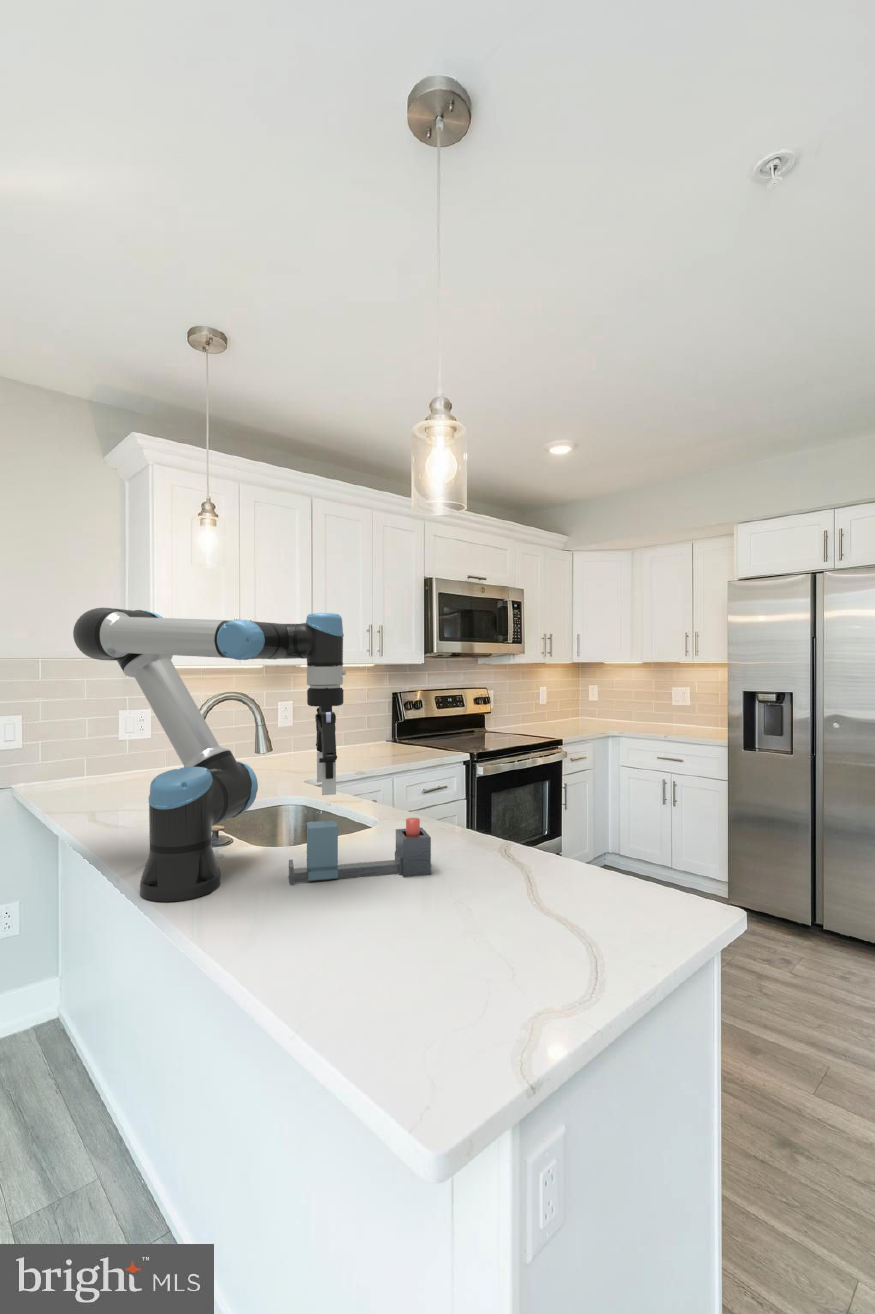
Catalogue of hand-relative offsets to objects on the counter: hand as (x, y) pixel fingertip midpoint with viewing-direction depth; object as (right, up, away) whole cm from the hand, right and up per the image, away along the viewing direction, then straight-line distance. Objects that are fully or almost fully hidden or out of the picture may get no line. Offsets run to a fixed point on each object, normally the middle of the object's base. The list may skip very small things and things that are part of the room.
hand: (326, 788), depth 135 cm
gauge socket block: (+18, -19, +5) cm, 27 cm away
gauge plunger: (+18, -14, +5) cm, 23 cm away
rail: (+4, -19, +1) cm, 19 cm away
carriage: (-1, -18, 0) cm, 18 cm away
